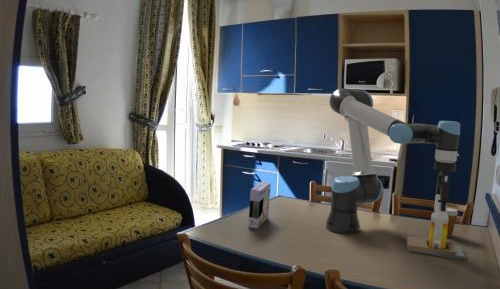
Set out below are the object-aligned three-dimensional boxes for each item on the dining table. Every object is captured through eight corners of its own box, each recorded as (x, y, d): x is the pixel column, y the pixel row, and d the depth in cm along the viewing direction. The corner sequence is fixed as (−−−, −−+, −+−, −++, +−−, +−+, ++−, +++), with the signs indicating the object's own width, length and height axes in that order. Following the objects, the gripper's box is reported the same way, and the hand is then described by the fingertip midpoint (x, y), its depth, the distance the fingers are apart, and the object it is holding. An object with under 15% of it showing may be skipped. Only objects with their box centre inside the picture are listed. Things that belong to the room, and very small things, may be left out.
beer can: (445, 249, 155) (448, 213, 154) (445, 254, 150) (449, 216, 148) (428, 246, 158) (431, 210, 156) (428, 251, 152) (431, 214, 151)
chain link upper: (407, 250, 152) (407, 244, 152) (406, 241, 163) (407, 236, 163) (455, 258, 146) (456, 252, 146) (451, 248, 157) (451, 242, 157)
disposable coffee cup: (458, 239, 169) (461, 212, 168) (435, 237, 171) (437, 210, 170) (452, 232, 178) (454, 207, 177) (429, 230, 180) (432, 205, 179)
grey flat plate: (421, 253, 150) (422, 250, 150) (420, 243, 161) (420, 240, 161) (465, 260, 145) (465, 256, 145) (460, 249, 156) (460, 246, 156)
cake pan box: (257, 229, 170) (259, 190, 168) (246, 228, 172) (248, 188, 170) (269, 218, 188) (271, 182, 186) (259, 217, 190) (261, 181, 188)
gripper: (461, 166, 137) (454, 225, 140) (451, 158, 160) (446, 208, 163) (438, 164, 140) (431, 221, 142) (432, 156, 163) (426, 205, 165)
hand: (439, 214), depth 153 cm, fingers open, 13 cm apart
